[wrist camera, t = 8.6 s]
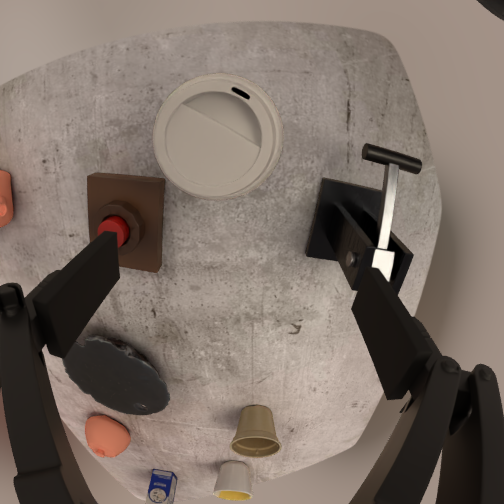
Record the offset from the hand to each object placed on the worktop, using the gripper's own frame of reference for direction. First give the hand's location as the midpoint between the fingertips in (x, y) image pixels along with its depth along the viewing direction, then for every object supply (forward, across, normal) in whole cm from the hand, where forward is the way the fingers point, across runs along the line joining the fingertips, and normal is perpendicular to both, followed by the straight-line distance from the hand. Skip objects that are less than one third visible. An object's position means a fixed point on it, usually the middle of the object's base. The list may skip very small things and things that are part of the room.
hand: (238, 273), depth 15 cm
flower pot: (+22, +8, -44) cm, 50 cm away
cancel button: (+18, -15, -7) cm, 25 cm away
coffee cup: (+22, -3, +6) cm, 23 cm away
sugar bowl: (+23, -28, -64) cm, 73 cm away
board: (+22, -19, -36) cm, 46 cm away
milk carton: (+23, -15, -93) cm, 97 cm away
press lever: (+13, +13, +1) cm, 18 cm away
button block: (+22, -15, -7) cm, 27 cm away
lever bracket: (+21, +13, -3) cm, 25 cm away
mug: (+22, +6, -75) cm, 78 cm away
